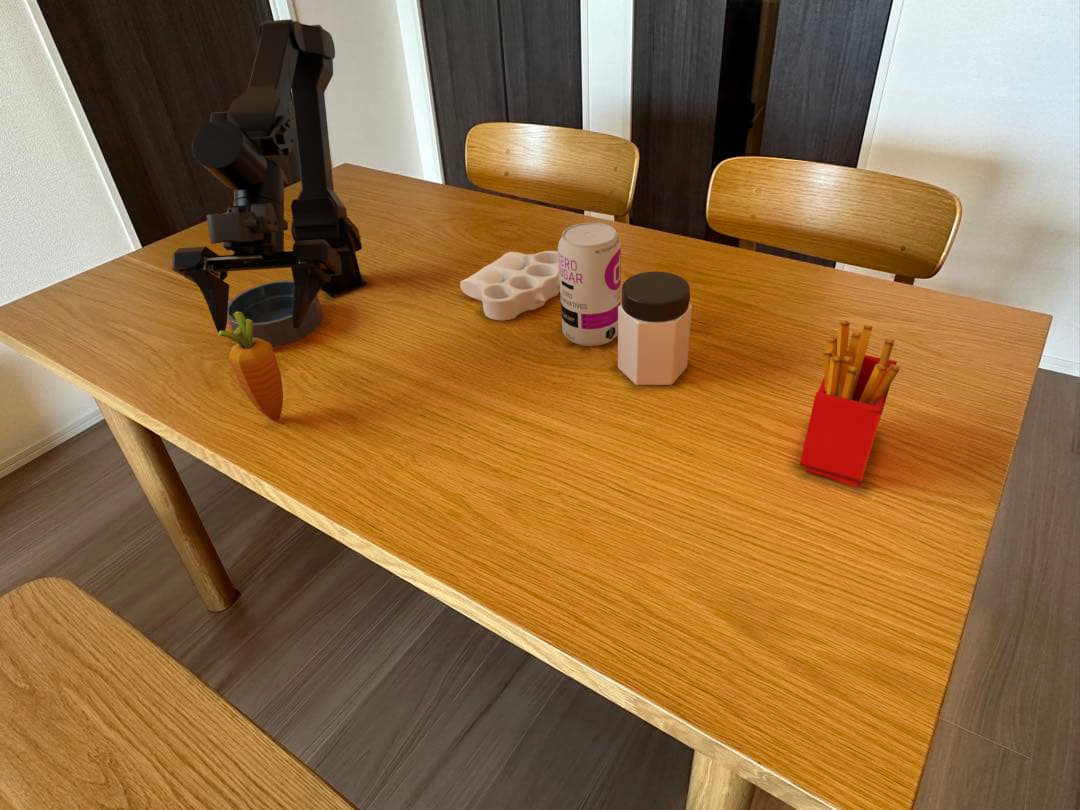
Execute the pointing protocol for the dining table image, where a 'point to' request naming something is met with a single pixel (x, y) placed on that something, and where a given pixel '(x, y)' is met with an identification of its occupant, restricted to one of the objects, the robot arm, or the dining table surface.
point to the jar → (654, 328)
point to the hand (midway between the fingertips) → (258, 330)
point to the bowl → (273, 313)
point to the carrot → (256, 368)
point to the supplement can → (590, 283)
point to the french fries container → (847, 407)
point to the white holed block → (515, 284)
